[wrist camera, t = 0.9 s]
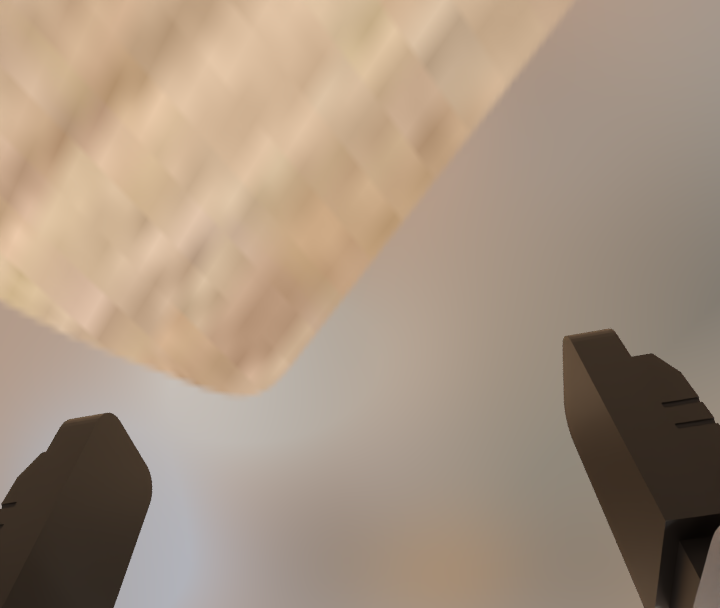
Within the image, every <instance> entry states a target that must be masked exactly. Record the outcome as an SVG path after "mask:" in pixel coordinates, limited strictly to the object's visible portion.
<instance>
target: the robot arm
mask: <svg viewBox="0 0 720 608" xmlns="http://www.w3.org/2000/svg"><path fill="white" fill-rule="evenodd" d="M563 381H564V407H565V414H566V419H567V423H568V427H569V431H570V434H571V437H572V439H573V442H574V444H575V447H576V449H577V451H578V454H579V456H580V458H581V460H582V463H583V465H584V468H585V470H586V472H587V475H588V477H589V479H590V482H591V484H592V486H593V488H594V491H595V493H596V496H597V498H598V500H599V503H600V505H601V507H602V510H603V512H604V514H605V517H606V519H607V521H608V524H609V526H610V528H611V531H612V533H613V535H614V538H615V540H616V543H617V545H618V547H619V550H620V552H621V554H622V556H623V559H624V561H625V564H626V566H627V568H628V571H629V573H630V575H631V578H632V580H633V582H634V585H635V587H636V589H637V592H638V594H639V596H640V598H641V601H642V603H643V606H644V608H720V425H719V424H718V423H715V421H714V417H713V416H712V414H711V413H710V411H709V410H708V409H707V407H706V406H705V405H704V403H703V402H700V401H699V397H698V395H697V394H696V392H695V391H694V390H693V388H692V387H691V386H690V384H689V383H688V381H687V380H686V379H685V377H684V376H683V375H682V373H681V372H680V371H678V370H677V369H675V368H674V367H672V366H670V365H669V364H667V363H666V362H664V361H663V360H661V359H660V358H658V357H657V356H655V355H654V354H646V355H640V356H634V357H631V356H630V354H629V353H628V351H627V349H626V348H625V346H624V345H623V343H622V342H621V340H620V339H619V337H618V335H617V334H616V333H615V331H614V330H612V329H604V330H598V331H592V332H587V333H581V334H575V335H569V336H565V337H564V339H563ZM151 497H152V480H151V475H150V472H149V469H148V467H147V465H146V464H145V462H144V460H143V459H142V457H141V455H140V454H139V452H138V450H137V449H136V447H135V446H134V444H133V442H132V440H131V439H130V437H129V435H128V434H127V432H126V430H125V429H124V427H123V425H122V424H121V422H120V420H119V419H118V418H117V417H116V416H115V415H114V414H112V413H104V414H98V415H92V416H86V417H80V418H74V419H69V420H67V421H65V422H64V423H63V424H62V426H61V427H60V429H59V430H58V432H57V434H56V435H55V437H54V439H53V441H52V442H51V444H50V446H49V448H48V449H47V451H46V452H43V453H41V454H40V455H39V456H38V457H37V458H36V459H35V460H34V461H33V463H31V464H30V465H29V467H27V468H26V470H25V471H24V472H22V473H21V474H20V475H19V477H17V479H16V481H15V483H14V484H13V486H12V487H11V489H10V491H9V492H8V494H7V496H6V497H5V499H4V501H3V502H2V509H0V608H113V607H114V605H115V602H116V599H117V596H118V594H119V591H120V588H121V585H122V582H123V579H124V576H125V574H126V571H127V568H128V565H129V562H130V559H131V556H132V553H133V550H134V547H135V545H136V542H137V539H138V536H139V533H140V530H141V528H142V525H143V522H144V519H145V516H146V513H147V510H148V508H149V505H150V501H151Z"/></svg>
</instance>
